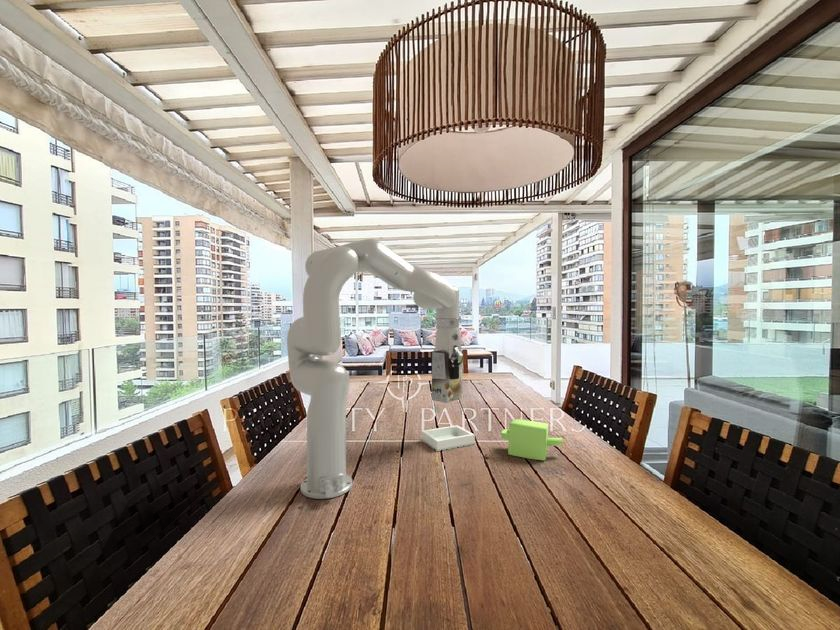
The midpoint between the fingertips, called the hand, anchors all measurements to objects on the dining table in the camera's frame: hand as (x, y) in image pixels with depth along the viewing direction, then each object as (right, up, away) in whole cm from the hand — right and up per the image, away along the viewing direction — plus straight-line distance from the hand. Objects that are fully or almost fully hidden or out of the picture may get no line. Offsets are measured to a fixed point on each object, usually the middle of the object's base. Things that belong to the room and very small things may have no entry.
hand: (447, 376), depth 127 cm
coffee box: (0, -8, 0) cm, 8 cm away
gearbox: (+25, -22, -9) cm, 35 cm away
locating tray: (0, -22, +1) cm, 22 cm away
